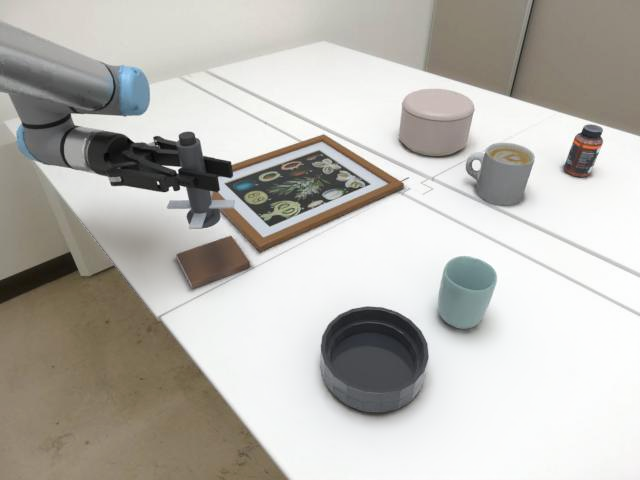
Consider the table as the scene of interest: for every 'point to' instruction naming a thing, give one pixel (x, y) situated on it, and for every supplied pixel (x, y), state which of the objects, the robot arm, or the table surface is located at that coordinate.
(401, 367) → the processor bowl
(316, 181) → the wall art
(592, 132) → the supplement bottle
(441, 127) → the container
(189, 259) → the board
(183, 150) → the blade
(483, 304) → the cup
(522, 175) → the coffee mug
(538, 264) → the table surface
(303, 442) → the table surface
